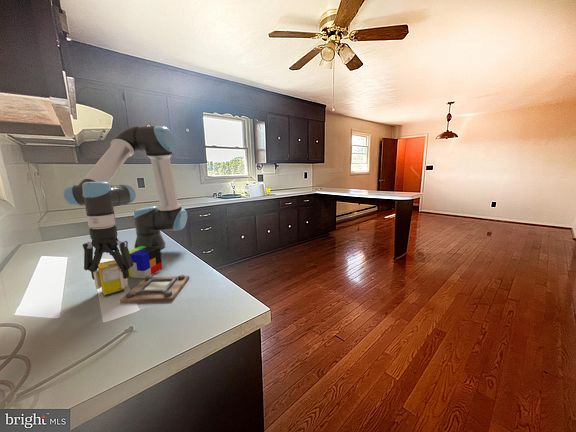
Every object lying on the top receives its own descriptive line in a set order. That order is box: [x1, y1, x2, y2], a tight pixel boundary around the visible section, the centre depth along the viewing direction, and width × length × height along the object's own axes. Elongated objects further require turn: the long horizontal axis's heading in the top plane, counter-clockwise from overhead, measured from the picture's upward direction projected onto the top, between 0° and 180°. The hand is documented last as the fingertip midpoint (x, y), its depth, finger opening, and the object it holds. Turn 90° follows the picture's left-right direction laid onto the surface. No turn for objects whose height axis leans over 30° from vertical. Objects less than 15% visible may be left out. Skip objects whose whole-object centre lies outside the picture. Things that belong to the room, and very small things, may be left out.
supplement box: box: [97, 259, 125, 298], centre depth 86 cm, size 6×6×11 cm
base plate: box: [119, 274, 190, 304], centre depth 88 cm, size 17×17×2 cm
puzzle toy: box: [120, 246, 163, 279], centre depth 102 cm, size 10×10×10 cm
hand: (112, 286), depth 87 cm, fingers closed on supplement box, 8 cm apart
